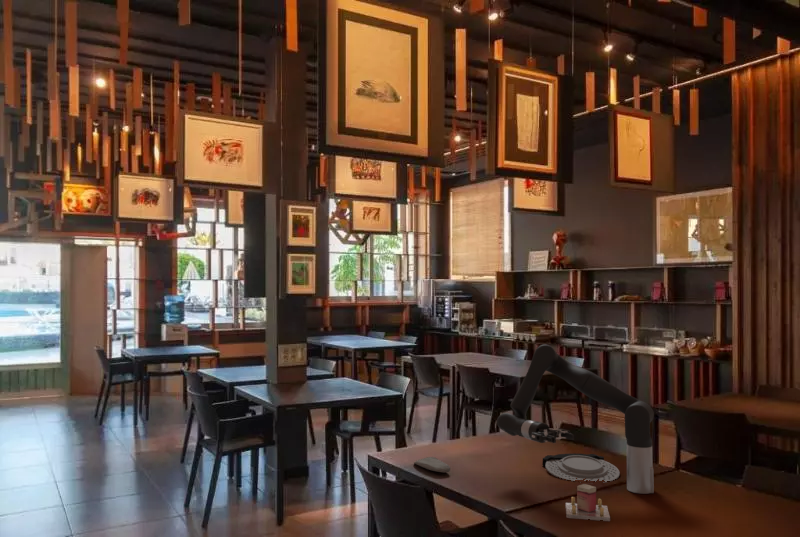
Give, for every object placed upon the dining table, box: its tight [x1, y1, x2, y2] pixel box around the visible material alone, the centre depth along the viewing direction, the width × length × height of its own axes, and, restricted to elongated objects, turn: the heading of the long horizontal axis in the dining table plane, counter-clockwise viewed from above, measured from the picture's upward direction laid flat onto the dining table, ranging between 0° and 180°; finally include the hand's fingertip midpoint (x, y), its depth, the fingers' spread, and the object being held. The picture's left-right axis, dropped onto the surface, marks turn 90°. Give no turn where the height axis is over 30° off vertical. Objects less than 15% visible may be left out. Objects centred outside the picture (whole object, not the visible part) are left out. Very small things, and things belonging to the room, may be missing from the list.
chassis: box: [565, 496, 611, 522], centre depth 222 cm, size 14×12×4 cm
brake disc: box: [541, 453, 621, 483], centre depth 273 cm, size 32×30×5 cm
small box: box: [576, 483, 597, 512], centre depth 223 cm, size 5×4×8 cm
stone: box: [413, 456, 451, 473], centre depth 276 cm, size 24×4×10 cm
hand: (564, 438), depth 236 cm, fingers open, 8 cm apart
